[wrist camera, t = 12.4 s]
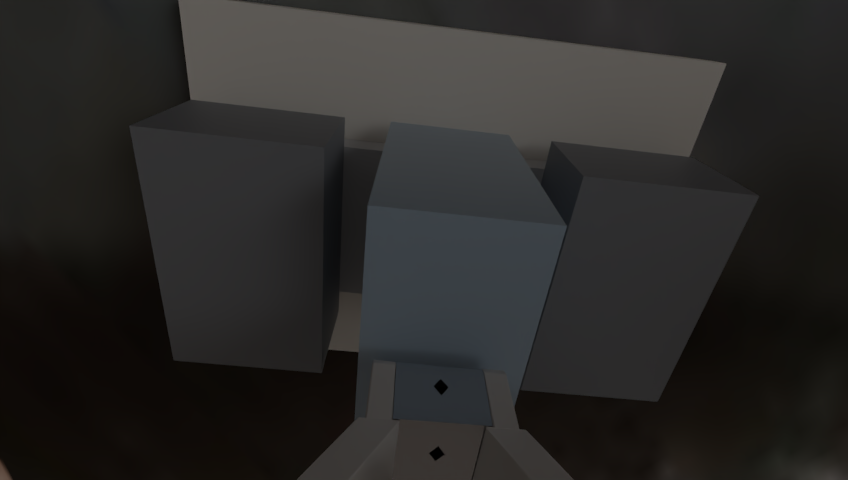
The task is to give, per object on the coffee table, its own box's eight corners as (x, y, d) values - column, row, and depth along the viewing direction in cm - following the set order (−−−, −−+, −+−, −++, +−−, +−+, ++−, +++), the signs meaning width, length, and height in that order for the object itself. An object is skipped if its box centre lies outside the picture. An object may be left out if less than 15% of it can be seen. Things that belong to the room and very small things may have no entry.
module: (509, 135, 15) (567, 226, 9) (470, 323, 19) (493, 479, 13) (390, 121, 15) (367, 205, 9) (375, 314, 19) (351, 468, 13)
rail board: (710, 60, 16) (834, 85, 11) (595, 358, 23) (642, 457, 18) (192, -6, 15) (81, -10, 10) (228, 326, 22) (171, 420, 17)
